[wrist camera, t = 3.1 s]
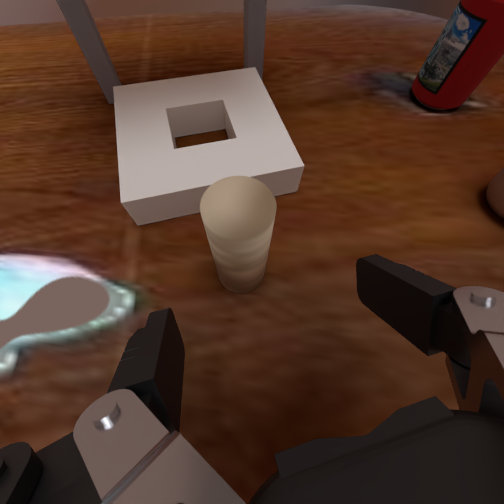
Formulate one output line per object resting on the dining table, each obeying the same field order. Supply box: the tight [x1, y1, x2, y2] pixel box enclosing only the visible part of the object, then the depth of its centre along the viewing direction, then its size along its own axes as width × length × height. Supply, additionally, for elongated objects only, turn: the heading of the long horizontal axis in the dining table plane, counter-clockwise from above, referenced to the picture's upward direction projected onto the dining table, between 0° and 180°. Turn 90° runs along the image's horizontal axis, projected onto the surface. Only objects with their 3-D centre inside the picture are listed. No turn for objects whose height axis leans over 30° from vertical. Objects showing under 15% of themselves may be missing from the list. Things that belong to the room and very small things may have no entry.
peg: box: [200, 176, 276, 294], centre depth 17 cm, size 4×4×10 cm
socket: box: [113, 67, 304, 226], centre depth 26 cm, size 16×16×4 cm
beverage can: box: [412, 0, 504, 110], centre depth 27 cm, size 7×7×12 cm
